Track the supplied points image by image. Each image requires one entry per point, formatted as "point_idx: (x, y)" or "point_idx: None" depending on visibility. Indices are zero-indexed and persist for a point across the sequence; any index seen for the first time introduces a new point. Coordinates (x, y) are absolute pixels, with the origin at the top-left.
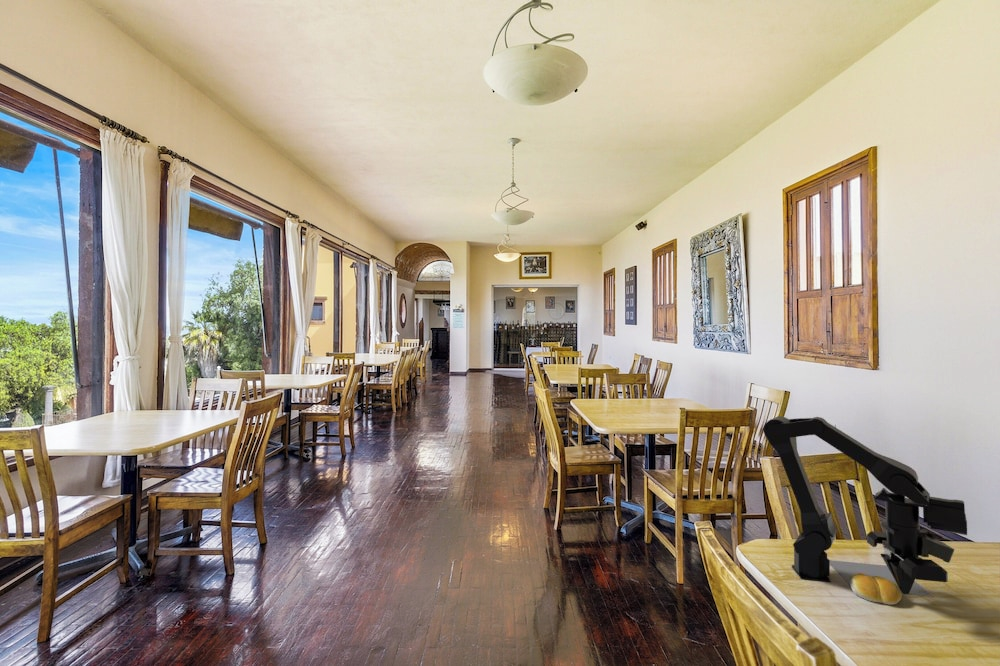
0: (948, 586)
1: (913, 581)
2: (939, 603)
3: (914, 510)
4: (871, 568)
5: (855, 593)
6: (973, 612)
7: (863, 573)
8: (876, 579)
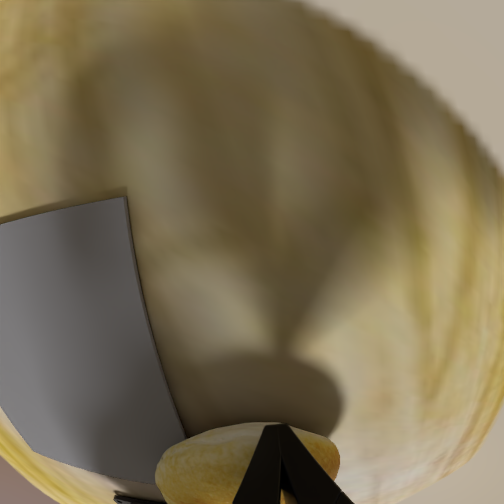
0: (4, 79)
1: (346, 496)
2: (201, 195)
3: None
4: None
5: None
6: (266, 45)
7: (47, 414)
8: None
